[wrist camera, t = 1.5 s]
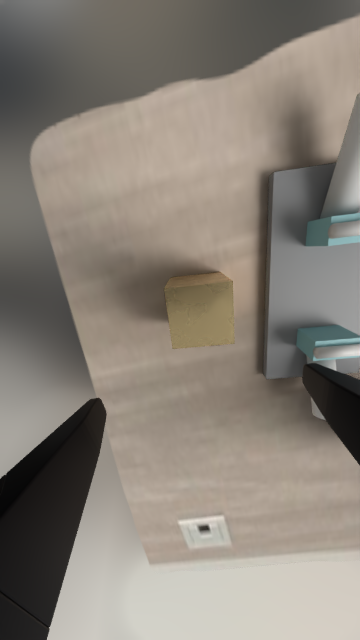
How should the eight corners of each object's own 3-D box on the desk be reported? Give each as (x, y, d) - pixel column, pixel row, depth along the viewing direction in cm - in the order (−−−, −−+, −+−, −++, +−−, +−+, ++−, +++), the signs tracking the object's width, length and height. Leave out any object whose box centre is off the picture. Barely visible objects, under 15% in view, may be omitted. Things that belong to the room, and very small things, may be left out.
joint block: (219, 271, 20) (232, 281, 14) (222, 318, 21) (234, 343, 16) (170, 277, 20) (163, 288, 14) (176, 322, 22) (172, 349, 16)
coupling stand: (405, 109, 15) (508, 43, 10) (347, 388, 24) (387, 424, 19) (270, 132, 16) (306, 80, 11) (262, 394, 24) (280, 429, 20)
